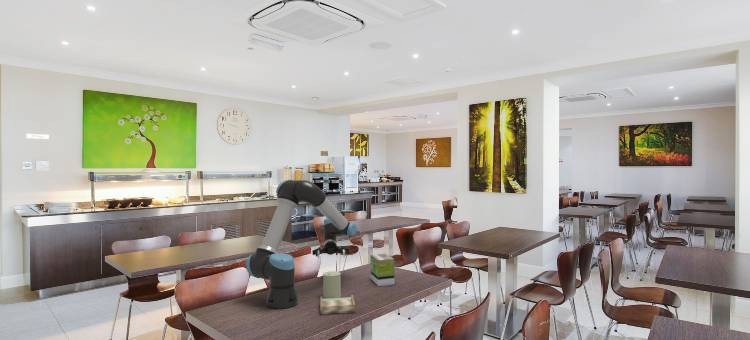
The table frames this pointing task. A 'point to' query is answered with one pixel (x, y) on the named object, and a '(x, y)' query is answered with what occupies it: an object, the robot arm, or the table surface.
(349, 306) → the tray
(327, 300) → the tailgate
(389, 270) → the tea box
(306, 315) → the table surface
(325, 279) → the can
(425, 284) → the table surface
